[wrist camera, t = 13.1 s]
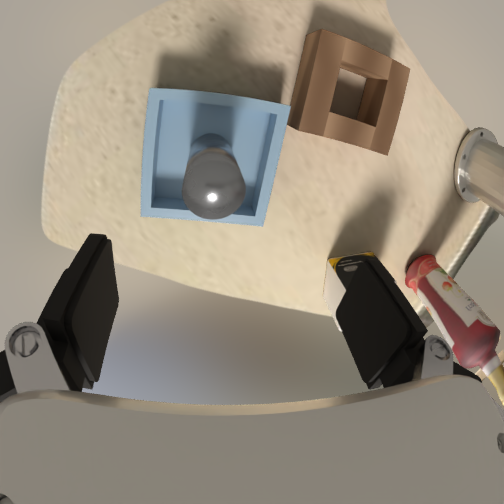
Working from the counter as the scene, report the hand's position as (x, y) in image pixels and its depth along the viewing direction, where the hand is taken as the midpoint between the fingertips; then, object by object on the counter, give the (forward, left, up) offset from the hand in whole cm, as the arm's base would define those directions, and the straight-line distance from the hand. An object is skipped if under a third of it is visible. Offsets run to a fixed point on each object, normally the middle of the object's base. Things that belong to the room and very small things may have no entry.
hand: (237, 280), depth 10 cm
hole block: (-11, -9, -20) cm, 24 cm away
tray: (+1, 0, -20) cm, 20 cm away
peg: (+1, 0, -19) cm, 19 cm away
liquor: (-34, +12, -20) cm, 42 cm away
